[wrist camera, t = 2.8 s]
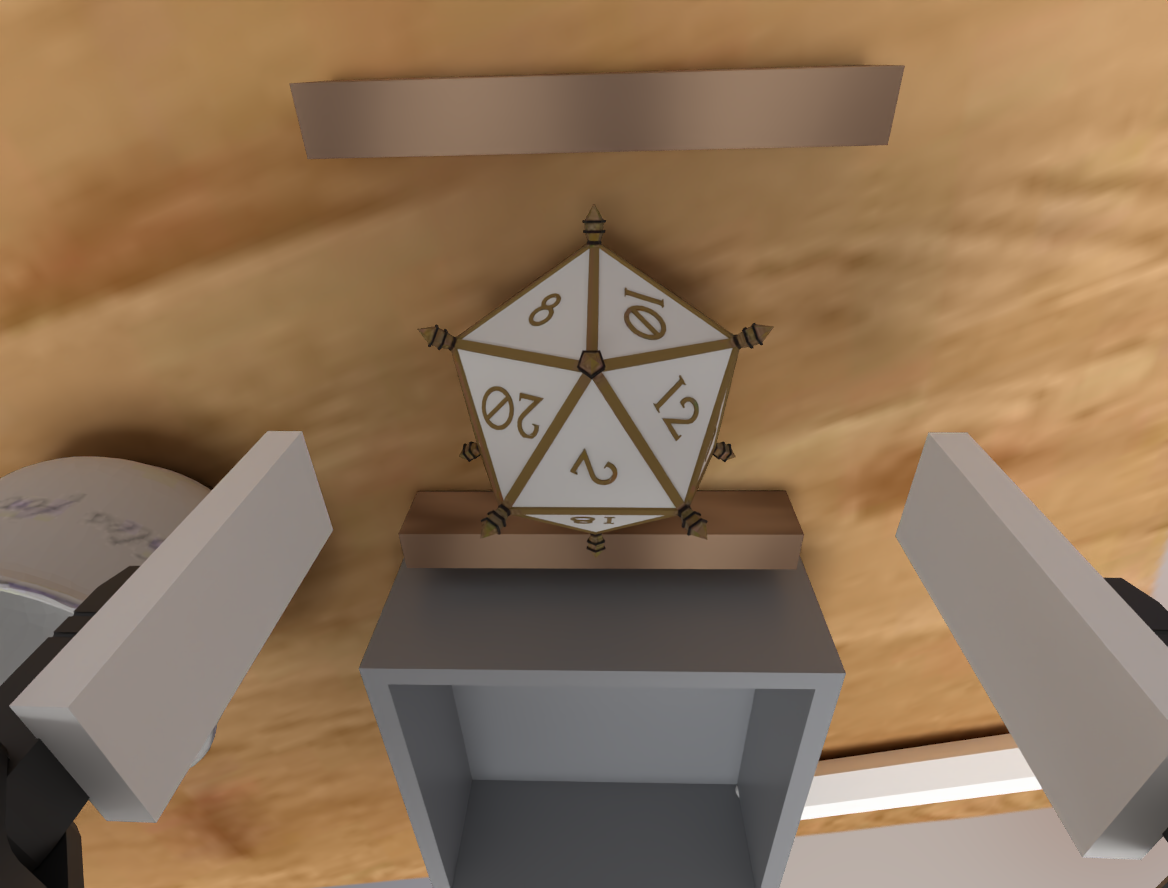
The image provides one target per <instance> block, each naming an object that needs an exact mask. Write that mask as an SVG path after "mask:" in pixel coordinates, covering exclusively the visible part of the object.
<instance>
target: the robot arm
mask: <svg viewBox="0 0 1168 888" xmlns="http://www.w3.org/2000/svg"><path fill="white" fill-rule="evenodd" d="M332 531H333V528H332V525H331V521H330V518H329V515H328V512H327V509H326V506H325V502H324V499H323V496H322V493H321V490H320V487H319V483H318V480H317V477H316V474H315V471H314V468H313V465H312V461H311V458H310V455H309V452H308V449H307V446H306V442H305V439H304V436H303V433H302V431H267V432H266V433H265V434H264V435H263V436H262V437H261V439H260V440H259V441H258V442H257V443H256V444H255V445H254V446H253V447H252V448H251V449H250V450H249V451H248V452H247V453H246V454H245V456H244V457H243V458H242V459H241V460H240V461H239V462H238V463H237V464H236V465H235V466H234V467H233V468H232V469H231V470H230V471H229V473H228V474H227V475H226V476H225V477H224V478H223V479H222V480H221V481H220V482H219V483H218V484H217V485H216V486H215V487H214V489H213V490H212V491H211V492H210V493H209V494H208V495H207V496H206V497H205V498H204V499H203V500H202V501H201V502H200V503H199V504H198V506H197V507H196V508H195V509H194V510H193V511H192V512H191V513H190V514H189V515H188V516H187V517H186V518H185V519H184V520H183V521H182V523H181V524H180V525H179V526H178V527H177V528H176V529H175V530H174V531H173V532H172V533H171V534H170V535H169V536H168V537H167V538H166V540H165V541H164V542H163V543H162V544H161V545H160V546H159V547H158V548H157V549H156V550H155V551H154V552H153V553H152V554H151V555H150V557H149V558H148V559H147V560H146V561H145V562H144V563H143V564H142V565H141V566H129V567H127V568H126V569H124V570H123V571H121V572H120V573H118V574H116V575H115V576H113V577H112V578H110V579H109V580H107V581H106V582H104V583H103V584H101V585H100V586H98V587H97V588H96V589H95V590H94V591H93V592H92V593H91V594H90V595H89V596H88V597H87V598H86V599H85V600H84V601H83V602H82V603H81V604H80V605H79V606H78V607H77V608H76V609H75V610H74V615H73V616H69V617H68V618H67V619H66V620H65V621H64V622H63V623H62V624H61V625H60V626H59V627H58V628H57V629H56V630H55V631H54V635H53V637H48V638H47V639H46V640H45V641H44V642H43V643H42V644H41V645H40V646H39V647H38V648H37V649H36V650H35V651H34V652H33V653H32V654H31V655H30V656H29V657H28V658H27V659H26V660H25V661H24V662H23V663H22V664H21V665H20V666H19V667H18V668H17V669H16V670H15V671H14V672H13V673H12V674H11V675H10V676H9V677H8V678H7V680H6V681H5V682H4V683H3V684H2V685H1V686H0V888H84V878H83V861H82V845H81V836H80V833H79V831H78V828H77V826H76V824H75V823H74V822H73V820H74V819H75V818H76V816H77V815H78V813H79V812H80V811H81V809H82V808H83V806H84V805H85V804H86V802H87V801H88V799H89V801H90V802H91V803H92V804H93V805H94V806H95V808H96V809H97V810H98V811H99V812H100V813H101V815H102V816H103V817H104V818H105V819H106V821H124V822H151V823H157V821H158V819H159V818H160V816H161V814H162V813H163V811H164V809H165V808H166V806H167V804H168V803H169V801H170V799H171V798H172V796H173V794H174V793H175V791H176V789H177V788H178V786H179V784H180V783H181V781H182V779H183V778H184V776H185V775H186V773H187V771H188V770H189V768H190V766H191V765H192V763H193V761H194V760H195V758H196V756H197V755H198V753H199V751H200V750H201V748H202V746H203V745H204V743H205V741H206V740H207V738H208V736H209V735H210V733H211V731H212V730H213V728H214V726H215V725H216V723H217V722H218V720H219V718H220V717H221V715H222V713H223V712H224V710H225V708H226V707H227V705H228V703H229V702H230V700H231V698H232V697H233V695H234V693H235V692H236V690H237V688H238V687H239V685H240V683H241V682H242V680H243V678H244V677H245V675H246V674H247V672H248V670H249V669H250V667H251V665H252V664H253V662H254V660H255V659H256V657H257V655H258V654H259V652H260V650H261V649H262V647H263V645H264V644H265V642H266V640H267V639H268V637H269V635H270V634H271V632H272V630H273V629H274V627H275V625H276V624H277V622H278V621H279V619H280V617H281V616H282V614H283V612H284V611H285V609H286V607H287V606H288V604H289V602H290V601H291V599H292V597H293V596H294V594H295V592H296V591H297V589H298V587H299V586H300V584H301V582H302V581H303V579H304V577H305V576H306V574H307V572H308V571H309V569H310V568H311V566H312V564H313V563H314V561H315V559H316V558H317V556H318V554H319V553H320V551H321V549H322V548H323V546H324V544H325V543H326V541H327V539H328V538H329V536H330V534H331V533H332ZM895 536H896V538H897V540H898V542H899V543H900V545H901V547H902V548H903V550H904V552H905V554H906V555H907V557H908V559H909V560H910V562H911V564H912V566H913V567H914V569H915V571H916V572H917V574H918V576H919V578H920V579H921V581H922V583H923V584H924V586H925V588H926V590H927V591H928V593H929V595H930V597H931V598H932V600H933V602H934V603H935V605H936V607H937V609H938V610H939V612H940V614H941V615H942V617H943V619H944V621H945V622H946V624H947V626H948V627H949V629H950V631H951V633H952V634H953V636H954V638H955V639H956V641H957V643H958V645H959V646H960V648H961V650H962V652H963V653H964V655H965V657H966V658H967V660H968V662H969V664H970V665H971V667H972V669H973V670H974V672H975V674H976V676H977V677H978V679H979V681H980V682H981V684H982V686H983V688H984V689H985V691H986V693H987V694H988V696H989V698H990V700H991V701H992V703H993V705H994V707H995V708H996V710H997V712H998V713H999V715H1000V717H1001V719H1002V720H1003V722H1004V724H1005V725H1006V727H1007V729H1008V731H1009V732H1010V734H1011V736H1012V737H1013V739H1014V741H1015V743H1016V744H1017V746H1018V748H1019V749H1020V751H1021V753H1022V755H1023V756H1024V758H1025V760H1026V762H1027V763H1028V765H1029V767H1030V768H1031V770H1032V772H1033V774H1034V775H1035V777H1036V779H1037V780H1038V782H1039V784H1040V786H1041V787H1042V789H1043V791H1044V792H1045V794H1046V796H1047V798H1048V799H1049V801H1050V803H1051V804H1052V806H1053V808H1054V810H1055V811H1056V813H1057V815H1058V817H1059V818H1060V820H1061V822H1062V823H1063V825H1064V827H1065V829H1066V830H1067V832H1068V834H1069V835H1070V837H1071V839H1072V840H1073V842H1074V844H1075V846H1076V847H1077V849H1078V851H1079V853H1080V854H1081V856H1082V857H1086V858H1087V857H1089V858H1113V859H1140V860H1141V859H1142V858H1143V857H1144V856H1145V855H1146V854H1147V853H1148V852H1149V851H1150V849H1152V847H1153V846H1154V845H1155V844H1156V843H1157V842H1158V841H1159V840H1160V839H1161V838H1162V837H1163V836H1164V838H1165V839H1166V841H1167V842H1168V611H1167V610H1166V609H1165V608H1164V607H1163V606H1162V605H1161V604H1160V603H1159V602H1158V601H1156V600H1155V599H1153V598H1151V597H1150V596H1148V595H1147V594H1145V593H1144V592H1142V591H1141V590H1139V589H1138V588H1136V587H1135V586H1133V585H1131V584H1130V583H1128V582H1127V581H1125V580H1124V579H1122V578H1103V577H1102V576H1101V575H1100V574H1099V573H1098V572H1097V571H1096V570H1095V569H1094V568H1093V567H1092V566H1091V564H1090V563H1089V562H1088V561H1087V560H1086V559H1085V558H1084V557H1083V556H1082V555H1081V554H1080V553H1079V552H1078V551H1077V550H1076V548H1075V547H1074V546H1073V545H1072V544H1071V543H1070V542H1069V541H1068V540H1067V539H1066V538H1065V537H1064V536H1063V535H1062V533H1061V532H1060V531H1059V530H1058V529H1057V528H1056V527H1055V526H1054V525H1053V524H1052V523H1051V522H1050V521H1049V520H1048V518H1047V517H1046V516H1045V515H1044V514H1043V513H1042V512H1041V511H1040V510H1039V509H1038V508H1037V507H1036V506H1035V505H1034V504H1033V502H1032V501H1031V500H1030V499H1029V498H1028V497H1027V496H1026V495H1025V494H1024V493H1023V492H1022V491H1021V490H1020V489H1019V487H1018V486H1017V485H1016V484H1015V483H1014V482H1013V481H1012V480H1011V479H1010V478H1009V477H1008V476H1007V475H1006V474H1005V473H1004V471H1003V470H1002V469H1001V468H1000V467H999V466H998V465H997V464H996V463H995V462H994V461H993V460H992V459H991V458H990V456H989V455H988V454H987V453H986V452H985V451H984V450H983V449H982V448H981V447H980V446H979V445H978V444H977V443H976V441H975V440H974V439H973V438H972V437H971V436H970V435H969V434H968V433H928V436H927V439H926V442H925V445H924V448H923V451H922V454H921V457H920V461H919V464H918V467H917V470H916V473H915V476H914V479H913V482H912V485H911V489H910V492H909V495H908V498H907V501H906V504H905V507H904V510H903V514H902V517H901V520H900V523H899V526H898V529H897V532H896V535H895ZM1156 888H1168V876H1167V877H1166V878H1165V879H1164V880H1163V881H1162V882H1161V883H1160V884H1159V885H1158V886H1157V887H1156Z"/></svg>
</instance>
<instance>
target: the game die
mask: <svg viewBox="0 0 1168 888" xmlns="http://www.w3.org/2000/svg"><path fill="white" fill-rule="evenodd" d="M605 222H606V220H603V218H602V217H601V215H600V213H599V211H598V210H597V208H596V206H595V205H593V206H592V208H591V210H590V212H589V214H588V215H587V217H586V219H585V220H583V223H585V230H583V233H586V237H587V240H588V241H587V244H586V245H585V246H583V247H582V248H581V249H579V250H578V251H576V252H575V253H574V254H572V255H571V256H569V257H568V258H567V259H565V260H564V261H562V262H561V263H560V264H558V265H557V266H555V267H554V268H553V269H551V270H550V271H548V272H547V273H546V274H544V275H543V276H541V277H540V278H539V279H537V280H536V281H534V282H533V283H532V284H530V285H529V286H527V287H526V288H525V289H523V290H522V291H520V292H519V293H518V294H516V295H515V296H513V297H512V298H511V299H509V300H508V301H506V302H505V303H504V304H502V305H501V306H499V307H498V308H496V309H495V310H494V311H492V312H491V313H489V314H488V315H487V316H485V317H484V318H482V319H481V320H480V321H478V322H477V323H475V324H474V325H473V326H471V327H470V328H468V329H467V330H466V331H464V332H463V333H461V334H460V335H459V336H457V337H453V336H451V335H450V334H449V333H448V331H447V330H446V329H444V330H442V329H440V328H439V327H438V325H435V327H428V328H421V329H418V330H419V332H420V333H421V334H422V336H423V337H424V338H425V340H426V341H427V342H428V344H429V345H428V347H431V345H432V346H435V347H438V350H440V349H441V348H443V349H449V350H450V351H451V352H452V355H453V359H454V362H455V366H456V370H457V373H458V377H459V380H460V384H461V388H462V391H463V395H464V398H465V402H466V406H467V409H468V413H469V416H470V420H471V424H472V427H473V431H474V434H475V438H476V442H477V443H474V442H470V443H469V444H464V445H463V450H462V452H461V454H460V456H459V457H462V458H464V459H467V460H468V461H469V462H470V461H471V460H473V459H476V458H477V457H479V456H480V455H481V457H482V460H483V463H484V466H485V468H486V471H487V474H488V477H489V480H490V483H491V486H492V489H493V491H494V494H495V497H496V500H497V503H498V508H497V509H496V510H492V511H490V512H488V513H487V514H488V516H487V517H486V518H483V519H482V520H481V522H482V529H481V537H480V539H481V538H485V537H488V536H491V535H495V534H498V535H500V534H501V532H500V530H501V529H502V528H503V527H506V520H507V518H508V516H510V515H515V516H519V517H523V518H528V519H532V520H536V521H540V522H544V523H549V524H553V525H557V526H561V527H566V528H570V529H574V530H578V531H583V532H587V533H590V537H589V538H588V540H587V543H588V546H587V548H586V549H587V550H590V552H591V553H592V554H593V555H594V557H595V558H597V557H598V556H599V554H600V553H601V552H602V551H603V550H605V549H606V548H605V546H604V543H605V540H604V538H603V537H602V533H604V532H608V531H613V530H617V529H621V528H626V527H630V526H634V525H639V524H643V523H647V522H652V521H656V520H660V519H665V518H669V517H673V516H679V517H680V518H681V521H682V528H686V530H687V531H688V532H687V535H688V536H690V535H693V536H696V537H699V538H703V539H706V540H708V539H707V528H706V523H707V522H708V521H707V520H705V519H702V518H701V517H700V516H701V514H700V513H699V512H696V511H693V510H692V509H691V507H690V505H691V503H692V500H693V498H694V496H695V494H696V491H697V489H698V487H699V484H700V482H701V480H702V477H703V475H704V473H705V471H706V468H707V466H708V464H709V461H710V459H711V457H712V455H714V456H715V457H716V458H717V459H721V460H722V461H724V462H726V461H727V460H728V459H731V458H734V457H736V456H735V455H734V453H733V451H732V449H731V444H727V445H726V444H725V442H721V443H717V439H718V435H719V431H720V427H721V423H722V418H723V414H724V410H725V406H726V402H727V398H728V394H729V389H730V385H731V381H732V377H733V373H734V369H735V365H736V361H737V356H738V352H739V349H741V348H742V347H750V348H753V346H754V345H757V344H760V345H763V343H762V342H763V341H764V339H765V338H766V337H767V335H768V334H769V332H770V331H771V330H772V328H773V327H771V326H763V325H756V324H755V323H753V324H752V326H751V327H749V328H746V327H745V328H743V330H742V332H741V333H739V334H738V335H733V334H731V333H730V332H728V331H727V330H726V329H724V328H723V327H721V326H720V325H718V324H717V323H715V322H714V321H713V320H711V319H710V318H708V317H707V316H705V315H704V314H702V313H701V312H699V311H698V310H697V309H695V308H694V307H692V306H691V305H689V304H688V303H686V302H685V301H683V300H682V299H681V298H679V297H678V296H676V295H675V294H673V293H672V292H670V291H669V290H668V289H666V288H665V287H663V286H662V285H660V284H659V283H657V282H656V281H654V280H653V279H652V278H650V277H649V276H647V275H646V274H644V273H643V272H641V271H640V270H639V269H637V268H636V267H634V266H633V265H631V264H630V263H628V262H627V261H625V260H624V259H623V258H621V257H620V256H618V255H617V254H615V253H614V252H612V251H611V250H610V249H608V248H607V247H605V246H604V245H602V244H601V238H602V235H603V233H605V230H603V225H604V223H605Z"/></svg>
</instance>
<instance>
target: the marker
mask: <svg viewBox="0 0 1168 888" xmlns="http://www.w3.org/2000/svg"><path fill="white" fill-rule="evenodd" d="M1039 789H1042V787H1041V786H1040V784H1039V782H1038V780H1037V779H1036V777H1035V775H1034V774H1033V772H1032V770H1031V768H1030V767H1029V765H1028V763H1027V762H1026V760H1025V758H1024V756H1023V755H1022V753H1021V751H1020V749H1019V748H1018V746H1017V744H1016V743H1015V741H1014V739H1013V737H1012V736H1011V734H1003V735H996V736H989V737H982V738H975V739H968V740H961V741H955V742H948V743H941V744H934V745H927V746H920V747H913V748H906V749H899V750H893V751H886V752H879V753H872V754H865V755H858V756H851V757H844V758H837V759H830V760H824V761H818V764H817V768H816V771H815V774H814V777H813V780H812V784H811V787H810V790H809V793H808V797H807V800H806V803H805V806H804V809H803V813H802V816H801V819H800V820H804V819H812V818H819V817H827V816H835V815H843V814H851V813H859V812H867V811H874V810H882V809H890V808H898V807H906V806H914V805H921V804H929V803H937V802H945V801H953V800H961V799H968V798H976V797H984V796H992V795H1000V794H1008V793H1015V792H1023V791H1031V790H1039ZM735 790H736V794H737V795H738V797H739V792H738V787H737V786H736V789H735Z"/></svg>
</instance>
